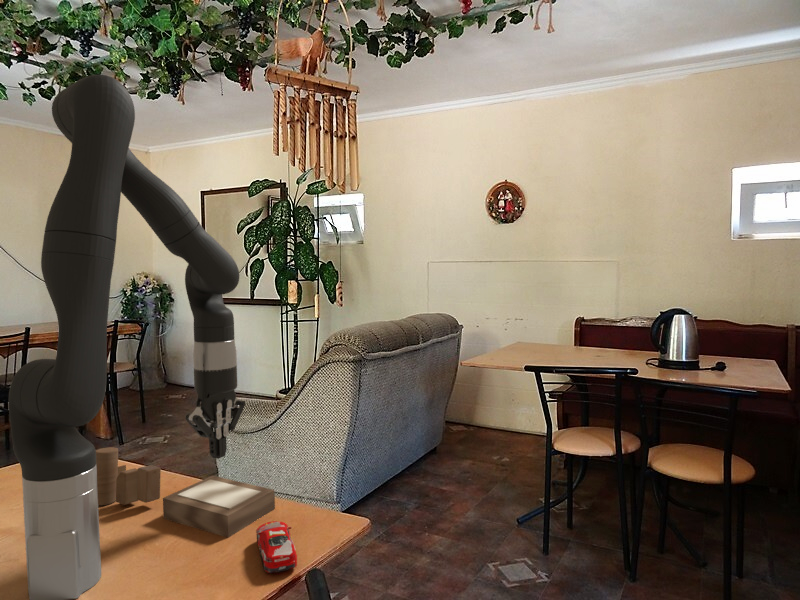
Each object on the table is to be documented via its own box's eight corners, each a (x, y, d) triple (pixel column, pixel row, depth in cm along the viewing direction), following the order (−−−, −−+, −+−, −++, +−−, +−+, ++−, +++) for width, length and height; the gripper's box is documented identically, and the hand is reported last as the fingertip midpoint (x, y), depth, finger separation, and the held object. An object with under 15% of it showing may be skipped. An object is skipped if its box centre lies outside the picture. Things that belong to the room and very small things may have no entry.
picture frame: (275, 510, 105) (274, 488, 105) (228, 538, 95) (227, 514, 94) (213, 494, 113) (212, 474, 112) (163, 519, 102) (162, 496, 102)
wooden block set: (168, 504, 108) (170, 451, 108) (126, 518, 101) (127, 461, 101) (117, 486, 118) (119, 438, 118) (75, 497, 111) (76, 446, 111)
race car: (254, 536, 94) (254, 513, 94) (287, 530, 96) (286, 508, 95) (262, 580, 82) (261, 554, 81) (299, 572, 83) (299, 547, 83)
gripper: (202, 373, 94) (205, 472, 95) (255, 360, 106) (258, 449, 107) (171, 369, 98) (175, 465, 99) (226, 357, 109) (229, 443, 111)
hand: (218, 456), depth 103 cm, fingers closed
